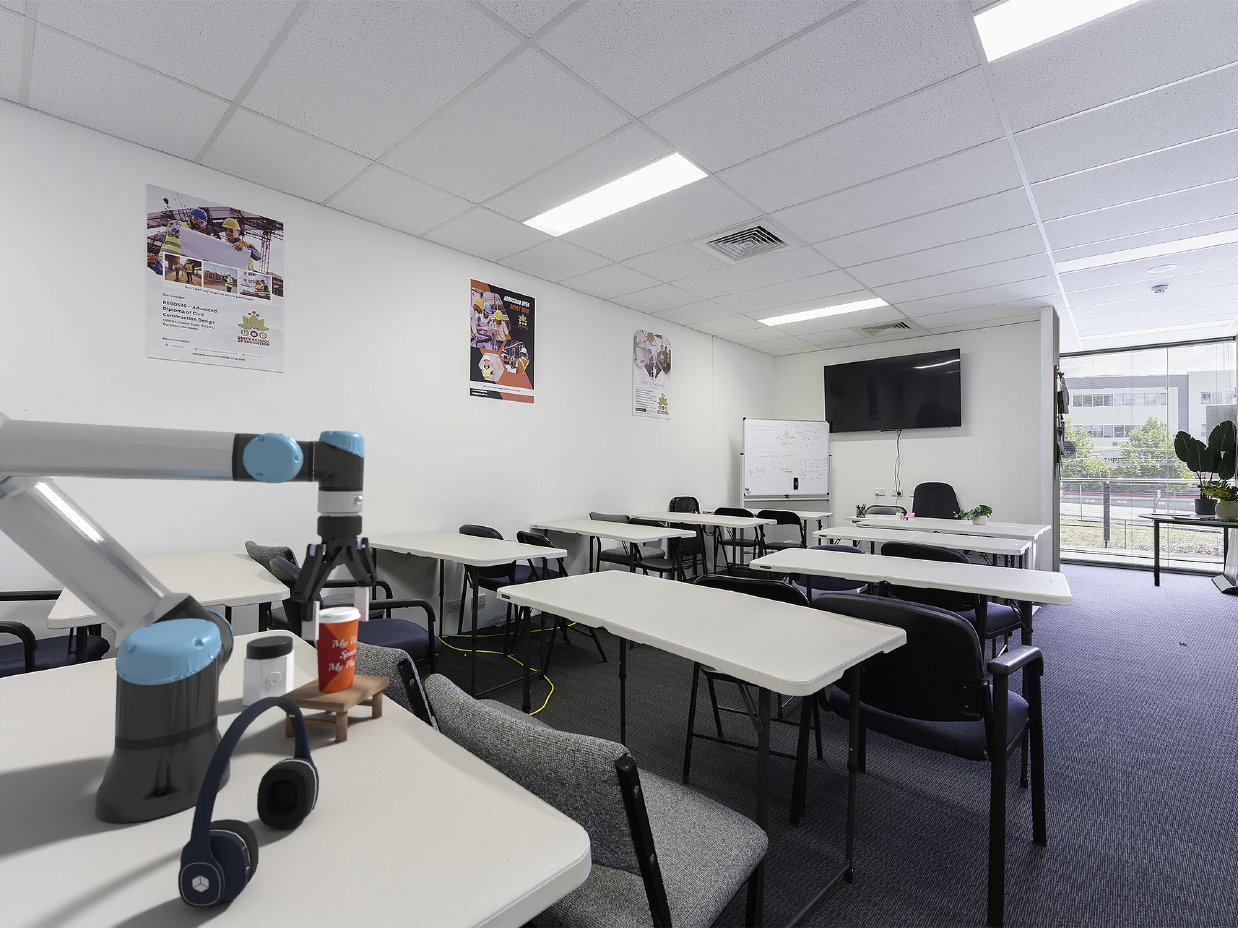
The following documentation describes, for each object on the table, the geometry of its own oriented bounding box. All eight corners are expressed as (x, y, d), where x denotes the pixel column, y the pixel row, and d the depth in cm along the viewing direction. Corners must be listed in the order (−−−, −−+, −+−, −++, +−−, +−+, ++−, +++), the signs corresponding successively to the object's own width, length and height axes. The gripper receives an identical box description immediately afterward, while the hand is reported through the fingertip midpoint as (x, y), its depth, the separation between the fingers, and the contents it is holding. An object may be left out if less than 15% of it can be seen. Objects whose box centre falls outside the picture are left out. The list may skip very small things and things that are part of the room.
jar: (247, 711, 109) (248, 649, 109) (238, 699, 115) (240, 640, 115) (298, 699, 115) (300, 640, 115) (288, 688, 121) (289, 632, 121)
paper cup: (340, 696, 99) (341, 616, 99) (302, 693, 100) (304, 614, 101) (368, 681, 106) (370, 607, 107) (332, 678, 108) (334, 604, 108)
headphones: (231, 922, 57) (236, 741, 58) (162, 923, 57) (167, 742, 58) (326, 808, 77) (329, 674, 78) (275, 809, 77) (279, 674, 78)
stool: (342, 744, 96) (343, 703, 96) (277, 737, 98) (278, 696, 98) (388, 713, 108) (389, 677, 109) (329, 707, 111) (330, 672, 111)
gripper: (308, 519, 91) (304, 650, 91) (397, 511, 116) (395, 614, 115) (268, 517, 93) (264, 647, 92) (365, 510, 117) (362, 612, 117)
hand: (337, 629), depth 104 cm, fingers open, 13 cm apart
